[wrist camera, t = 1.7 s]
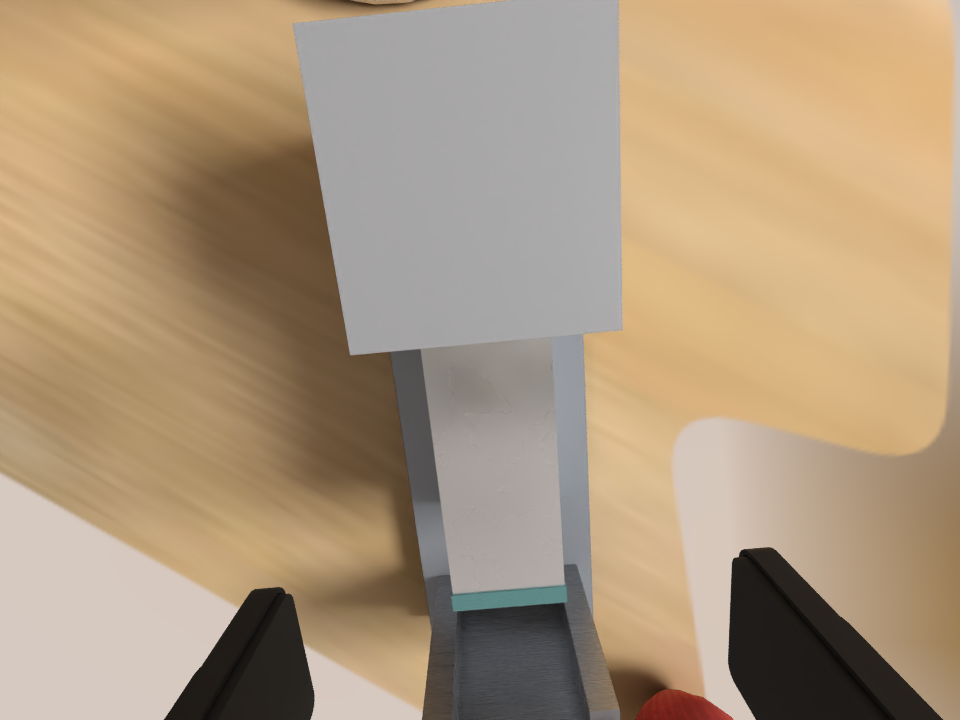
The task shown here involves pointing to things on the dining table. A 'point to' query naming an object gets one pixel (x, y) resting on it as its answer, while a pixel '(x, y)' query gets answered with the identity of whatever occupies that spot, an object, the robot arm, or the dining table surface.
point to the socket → (518, 661)
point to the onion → (680, 707)
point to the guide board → (473, 206)
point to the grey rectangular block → (497, 471)
